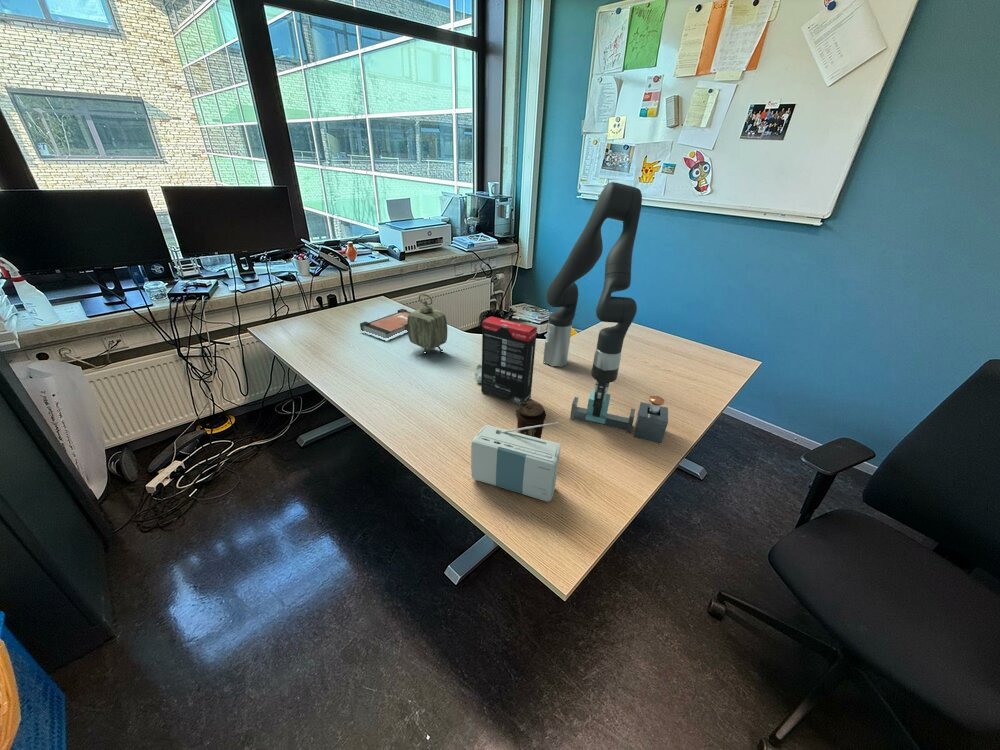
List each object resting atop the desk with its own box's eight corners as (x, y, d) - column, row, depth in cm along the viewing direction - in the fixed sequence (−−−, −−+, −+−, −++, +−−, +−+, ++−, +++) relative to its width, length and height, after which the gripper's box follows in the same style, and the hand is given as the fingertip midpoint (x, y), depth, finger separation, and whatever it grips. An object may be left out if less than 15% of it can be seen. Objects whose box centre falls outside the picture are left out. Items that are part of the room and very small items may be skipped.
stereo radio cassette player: (469, 482, 100) (469, 418, 91) (482, 462, 107) (483, 400, 97) (549, 507, 94) (558, 440, 84) (557, 484, 101) (566, 420, 91)
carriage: (585, 419, 124) (588, 398, 120) (588, 410, 128) (591, 390, 125) (604, 423, 122) (608, 403, 118) (606, 414, 126) (610, 394, 123)
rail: (569, 419, 126) (572, 403, 123) (572, 412, 130) (574, 396, 127) (630, 433, 121) (634, 417, 118) (631, 425, 125) (635, 409, 122)
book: (387, 343, 174) (386, 332, 171) (361, 333, 182) (359, 323, 180) (428, 326, 193) (428, 316, 191) (403, 318, 201) (402, 308, 199)
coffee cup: (512, 436, 117) (514, 399, 111) (539, 435, 118) (543, 399, 112) (515, 455, 110) (518, 417, 104) (545, 454, 111) (549, 416, 104)
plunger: (644, 420, 118) (649, 401, 114) (645, 413, 121) (650, 394, 118) (658, 423, 116) (664, 404, 113) (659, 416, 120) (664, 397, 116)
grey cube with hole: (633, 437, 119) (639, 415, 115) (635, 423, 126) (640, 401, 122) (661, 443, 117) (668, 421, 113) (661, 428, 123) (667, 407, 120)
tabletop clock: (448, 352, 166) (446, 295, 154) (434, 360, 159) (430, 300, 147) (422, 344, 173) (418, 288, 161) (407, 351, 166) (402, 293, 154)
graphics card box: (532, 398, 137) (538, 324, 124) (523, 407, 131) (529, 331, 118) (489, 385, 144) (491, 314, 131) (479, 393, 138) (480, 320, 125)
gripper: (596, 351, 123) (589, 397, 131) (589, 371, 111) (581, 420, 119) (621, 355, 121) (612, 402, 129) (616, 376, 109) (606, 426, 117)
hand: (597, 410), depth 124 cm, fingers closed on carriage, 5 cm apart
